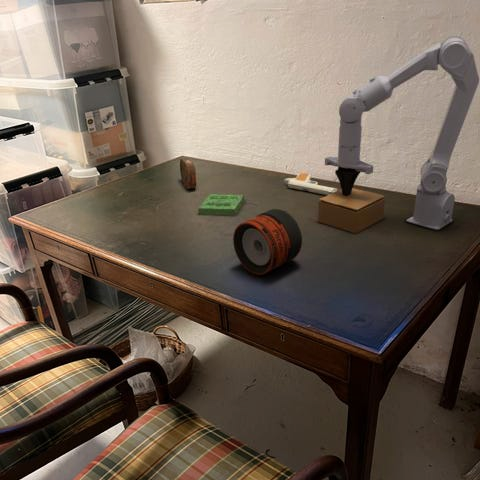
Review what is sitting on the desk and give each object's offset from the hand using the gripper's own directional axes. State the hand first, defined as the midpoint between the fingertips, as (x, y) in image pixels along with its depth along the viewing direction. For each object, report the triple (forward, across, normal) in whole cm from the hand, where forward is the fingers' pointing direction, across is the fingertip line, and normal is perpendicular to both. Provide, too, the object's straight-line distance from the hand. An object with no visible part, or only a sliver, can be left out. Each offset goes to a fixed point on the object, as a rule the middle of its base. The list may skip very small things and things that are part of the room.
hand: (346, 194), depth 142 cm
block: (+6, 0, +1) cm, 6 cm away
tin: (+7, +59, +10) cm, 60 cm away
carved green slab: (+7, +34, +17) cm, 39 cm away
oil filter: (+7, -4, +35) cm, 36 cm away
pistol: (+7, +23, -14) cm, 28 cm away
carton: (+7, -2, +1) cm, 7 cm away
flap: (0, +1, +1) cm, 1 cm away
